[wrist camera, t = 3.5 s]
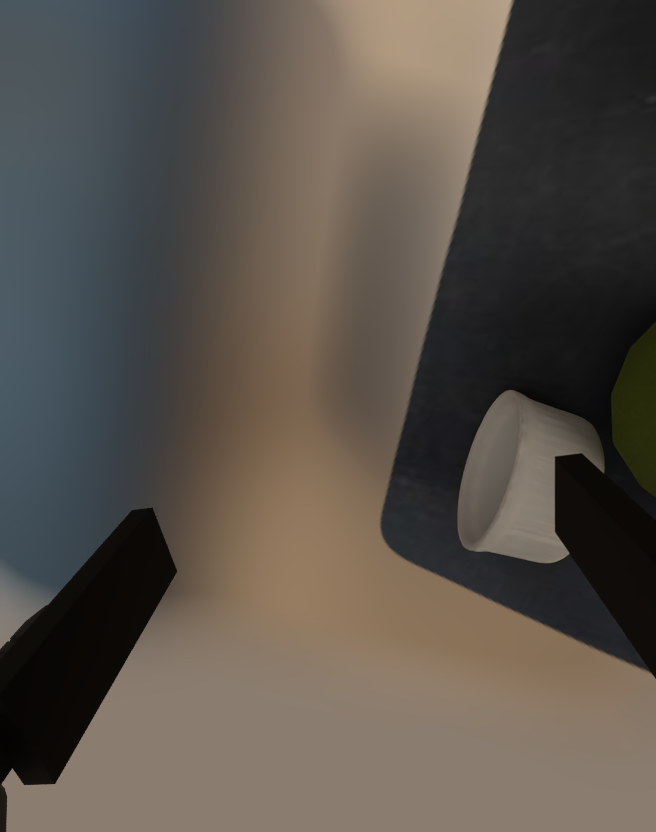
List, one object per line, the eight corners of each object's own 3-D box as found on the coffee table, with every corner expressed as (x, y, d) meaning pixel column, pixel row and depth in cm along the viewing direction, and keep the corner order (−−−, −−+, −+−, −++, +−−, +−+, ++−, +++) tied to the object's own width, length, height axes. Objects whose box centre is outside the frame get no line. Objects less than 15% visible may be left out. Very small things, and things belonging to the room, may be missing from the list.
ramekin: (520, 586, 24) (446, 563, 25) (529, 452, 29) (466, 434, 29) (622, 556, 17) (512, 522, 17) (613, 378, 21) (526, 355, 21)
